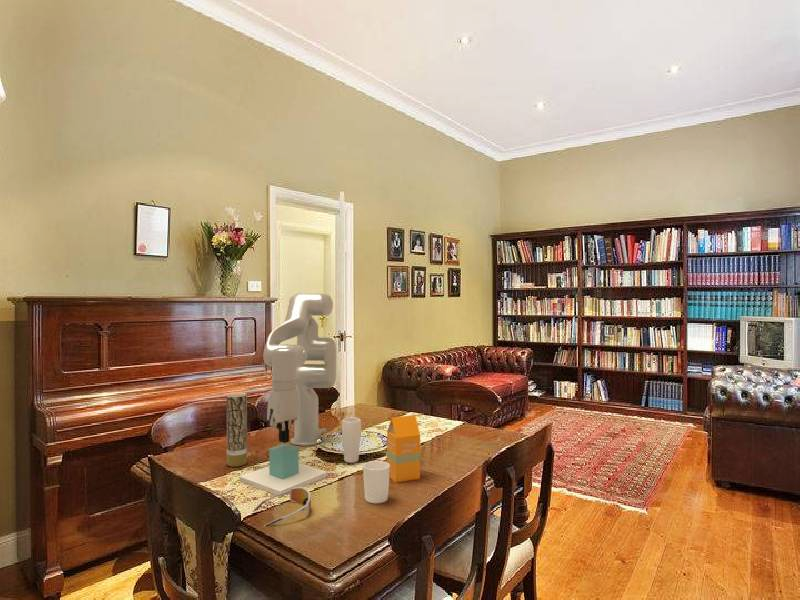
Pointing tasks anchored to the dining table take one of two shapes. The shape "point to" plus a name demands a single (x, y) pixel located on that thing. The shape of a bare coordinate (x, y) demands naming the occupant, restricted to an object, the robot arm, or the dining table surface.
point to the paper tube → (236, 429)
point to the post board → (278, 485)
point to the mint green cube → (283, 461)
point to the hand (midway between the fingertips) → (284, 441)
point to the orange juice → (403, 449)
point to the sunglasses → (295, 496)
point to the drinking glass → (351, 438)
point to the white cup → (376, 481)
